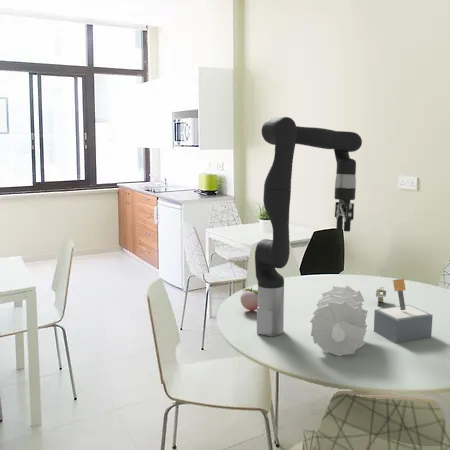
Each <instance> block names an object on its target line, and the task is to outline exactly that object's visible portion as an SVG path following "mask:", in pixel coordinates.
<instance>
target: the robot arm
mask: <svg viewBox="0 0 450 450" xmlns="http://www.w3.org/2000/svg"><path fill="white" fill-rule="evenodd" d="M261 135H262V136H261V137H262V138H263V140H264V141H265V142H266V143H268V144H269V145H273V146H274V155H273V156H274V157H273V161H272V164H271V166H270V169H269V171H268V173H267V175H266V178H265V180H264V185H263V199H262V201H263V206H264V208H265V209H264V210H265V212H266V214H267V216H268V218H269V221H270V224H271V227H272V239H268V238H265V239H260V241H258V242H257V244H256V246H255V251H254V267H255V269H254V270H255V279H256V280H257V290H258V308H257V310H256V334H257V335H263V336H267V337H271V338H272V337H276V336H280V335H282V334H283V333H284V322H285V321H284V319H285V317H284V312H285V311H284V310H285V309H284V306H285V305H284V304H285V301H284V300H285V299H284V298H285V278H284V276H283V275H281V274H280V273H279V272H278V271H277V270H276V269H283V268H285V267H286V265H287V264H288V262H289V260H290V259H289V258H290V247H291V246H290V245H291V244H290V205H291V196H292V195H291V192H292V190H291V189H292V175H293V173H292V172H293V161H294V154H295V148H296V145H302V146H307V147H313V148H317V149H324V150H333V152H334V157H335V161H336V171H335V172H336V173H335V175H336V176H335V181H334V182H335V183H334V200H338V201H336V202H335V205H334V218H335V219H336V227H335V228H336V230H343V232H350V231H351V225H352V224H351V222H352V221H354V219H355V218H354V216H355V215H354V212H355V211H354V210H355V209H354V208H355V203H353V202H351V201H355V200H356V191H357V190H356V187H357V178H356V176H357V172H356V171H357V170H356V169H357V162H356V160H355V159H353V158H350V154H349V153H354V152H356V151H358V150H359V149H360V148H361V147H362V145H363V140H362V137H361V136H360V135H359V134H358V133H357V132H354V131H343V130H333V129H328V128H324V127H313V126H311V127H310V126H309V127H308V126H300V125H299V126H297V125H296V122H295V121H294V119H293V118H291V117H288V116H281V117H273V118H272V117H271V118H269V119H268V120H266V121H265V122H264V123H263V124H262V127H261Z"/></svg>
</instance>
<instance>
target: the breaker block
mask: <svg viewBox="0 0 450 450" xmlns="http://www.w3.org/2000/svg"><path fill="white" fill-rule="evenodd" d="M405 309H406V310H401V309H400V305H399V306H392V307H391V306H390V307H385V308H379V309H374V318H373V319H374V320H373V321H374V322H373V332H374V333H377V335H379V336H381V337H384V338H385V339H387V340H389V341H390V342H392V343H394V344H399V343H406V342H411V341H416V340H422V339H428V337H429V338H431V337H432V331H433V314H432V313H429V312H427V311H424V310H422V309H419V308H417V307H415V306H412V305H410V304H405Z"/></svg>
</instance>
